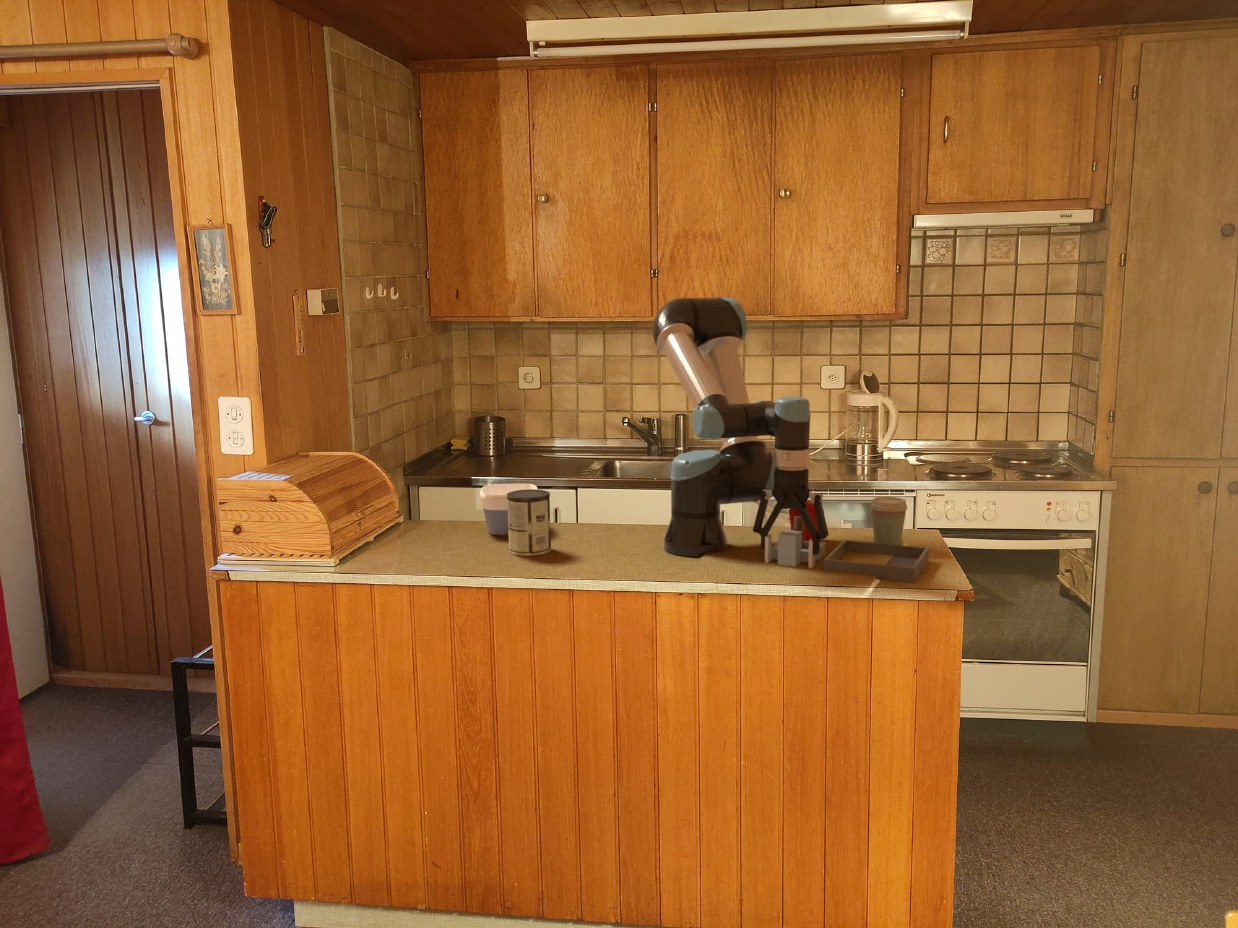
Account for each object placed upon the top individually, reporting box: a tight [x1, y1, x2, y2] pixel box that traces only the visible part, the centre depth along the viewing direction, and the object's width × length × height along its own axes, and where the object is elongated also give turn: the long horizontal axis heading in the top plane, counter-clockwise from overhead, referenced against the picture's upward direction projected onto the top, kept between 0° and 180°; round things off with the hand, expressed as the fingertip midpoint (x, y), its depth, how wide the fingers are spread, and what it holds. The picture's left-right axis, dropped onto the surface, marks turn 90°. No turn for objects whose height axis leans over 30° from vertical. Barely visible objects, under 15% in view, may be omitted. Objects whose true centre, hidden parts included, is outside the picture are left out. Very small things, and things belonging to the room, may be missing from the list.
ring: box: [772, 529, 826, 568], centre depth 237 cm, size 10×15×7 cm, turn 155°
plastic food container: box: [479, 483, 539, 537], centre depth 269 cm, size 15×15×11 cm
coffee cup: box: [870, 496, 908, 545], centre depth 247 cm, size 8×8×12 cm
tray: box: [823, 539, 930, 584], centre depth 232 cm, size 19×19×3 cm
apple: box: [788, 500, 825, 541], centre depth 252 cm, size 9×8×12 cm
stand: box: [772, 516, 828, 565], centre depth 239 cm, size 11×11×10 cm
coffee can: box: [507, 489, 552, 557], centre depth 248 cm, size 10×10×14 cm
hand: (789, 565), depth 233 cm, fingers open, 9 cm apart
